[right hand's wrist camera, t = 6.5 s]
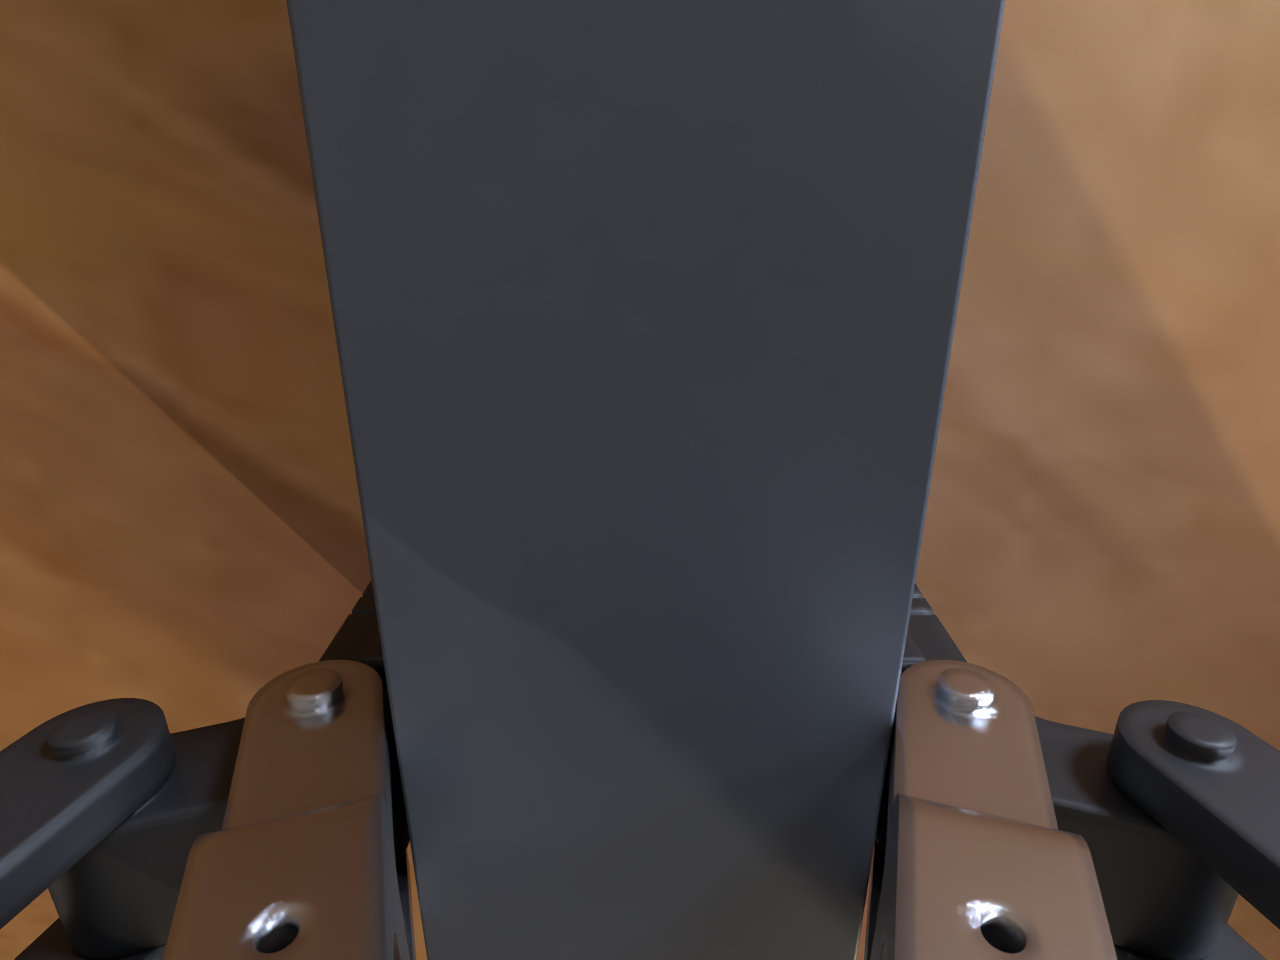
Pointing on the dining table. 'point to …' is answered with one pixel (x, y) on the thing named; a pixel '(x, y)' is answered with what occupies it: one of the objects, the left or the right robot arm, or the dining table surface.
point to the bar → (644, 439)
